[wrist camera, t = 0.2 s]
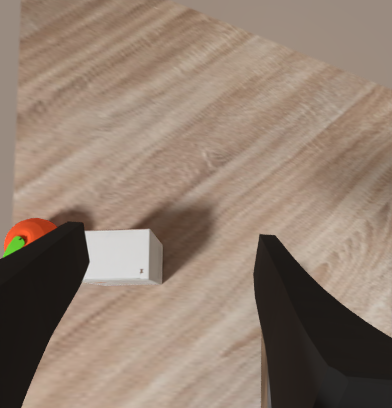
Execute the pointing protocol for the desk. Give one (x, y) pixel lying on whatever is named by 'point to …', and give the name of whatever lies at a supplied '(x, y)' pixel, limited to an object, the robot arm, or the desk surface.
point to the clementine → (26, 233)
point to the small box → (123, 257)
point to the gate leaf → (264, 379)
